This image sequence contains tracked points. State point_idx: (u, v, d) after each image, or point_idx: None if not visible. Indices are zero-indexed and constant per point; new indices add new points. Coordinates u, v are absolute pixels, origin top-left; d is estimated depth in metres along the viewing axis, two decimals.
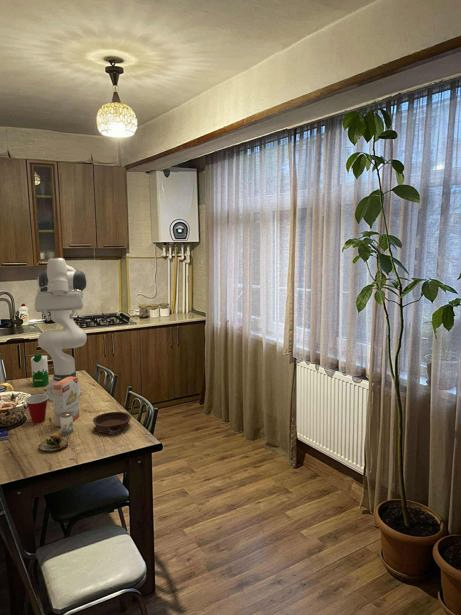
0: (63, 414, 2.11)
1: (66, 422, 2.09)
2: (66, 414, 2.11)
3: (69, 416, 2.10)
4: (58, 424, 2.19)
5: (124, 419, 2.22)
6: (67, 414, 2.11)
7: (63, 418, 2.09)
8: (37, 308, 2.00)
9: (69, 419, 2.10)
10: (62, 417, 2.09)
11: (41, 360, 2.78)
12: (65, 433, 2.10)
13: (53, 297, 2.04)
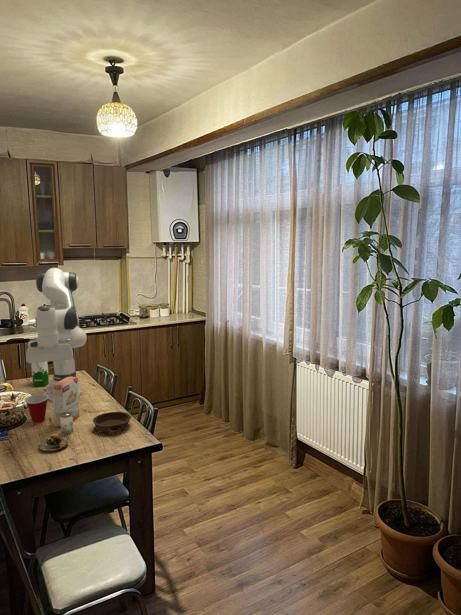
0: (63, 414, 2.11)
1: (66, 422, 2.09)
2: (66, 414, 2.11)
3: (69, 416, 2.10)
4: (58, 424, 2.19)
5: (124, 419, 2.22)
6: (67, 414, 2.11)
7: (63, 418, 2.09)
8: (28, 362, 2.07)
9: (69, 419, 2.10)
10: (62, 417, 2.09)
11: None
12: (65, 433, 2.10)
13: (44, 350, 2.08)
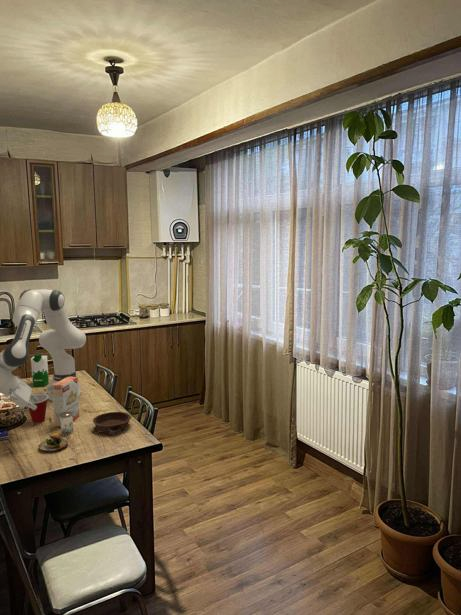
0: (63, 414, 2.11)
1: (66, 422, 2.09)
2: (66, 414, 2.11)
3: (69, 416, 2.10)
4: (58, 424, 2.19)
5: (124, 419, 2.22)
6: (67, 414, 2.11)
7: (63, 418, 2.09)
8: None
9: (69, 419, 2.10)
10: (62, 417, 2.09)
11: (41, 360, 2.78)
12: (65, 433, 2.10)
13: None
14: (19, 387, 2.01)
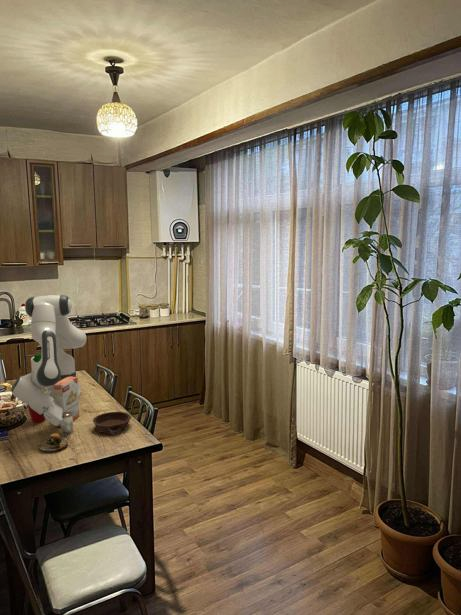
0: (63, 414, 2.11)
1: None
2: (66, 414, 2.11)
3: (69, 416, 2.10)
4: None
5: (124, 419, 2.22)
6: (67, 414, 2.11)
7: (63, 418, 2.09)
8: None
9: (69, 419, 2.10)
10: (62, 417, 2.09)
11: (41, 360, 2.78)
12: (65, 433, 2.10)
13: None
14: (52, 405, 2.07)
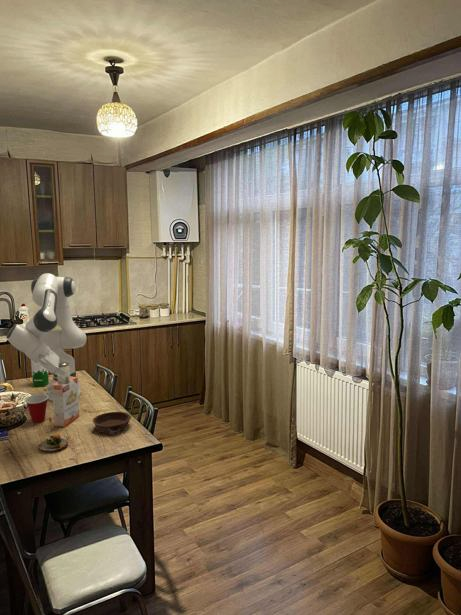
0: (60, 364, 2.07)
1: None
2: (63, 364, 2.07)
3: (66, 365, 2.06)
4: (58, 424, 2.19)
5: (124, 419, 2.22)
6: (64, 364, 2.07)
7: None
8: None
9: (66, 369, 2.07)
10: (59, 366, 2.06)
11: None
12: (62, 383, 2.07)
13: None
14: (48, 354, 2.04)
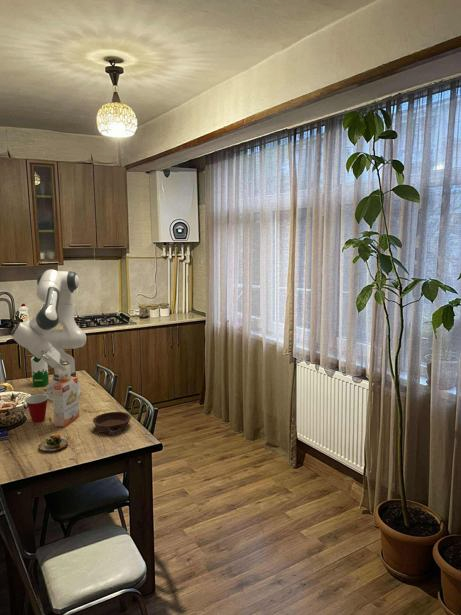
0: (61, 362, 2.21)
1: None
2: (64, 362, 2.21)
3: (67, 364, 2.20)
4: (58, 424, 2.19)
5: (124, 419, 2.22)
6: (65, 362, 2.21)
7: None
8: None
9: (67, 367, 2.20)
10: None
11: (41, 360, 2.78)
12: (63, 380, 2.20)
13: None
14: (50, 350, 2.17)
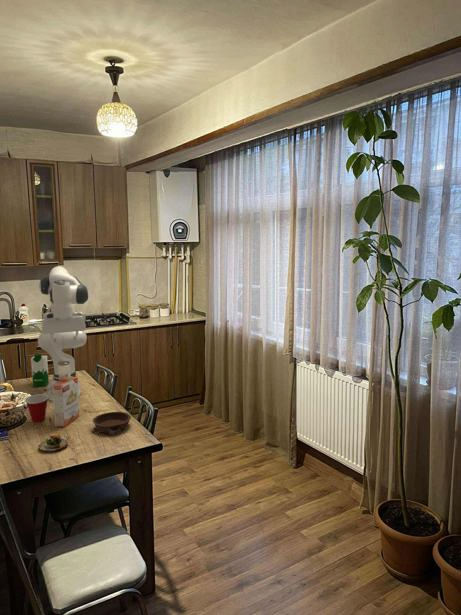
0: (61, 362, 2.21)
1: (64, 370, 2.19)
2: (64, 362, 2.21)
3: (67, 364, 2.20)
4: (58, 424, 2.19)
5: (124, 419, 2.22)
6: (65, 362, 2.21)
7: (61, 365, 2.19)
8: (44, 332, 2.21)
9: (67, 367, 2.20)
10: (60, 365, 2.19)
11: (41, 360, 2.78)
12: (63, 380, 2.20)
13: (58, 322, 2.23)
14: None
